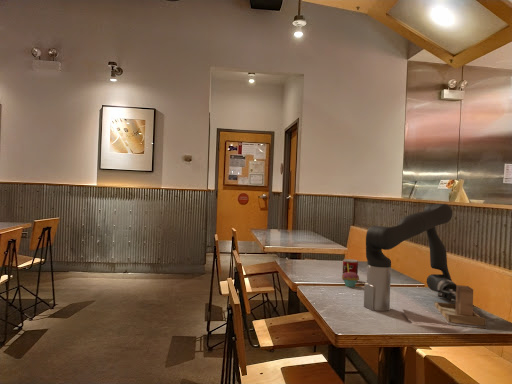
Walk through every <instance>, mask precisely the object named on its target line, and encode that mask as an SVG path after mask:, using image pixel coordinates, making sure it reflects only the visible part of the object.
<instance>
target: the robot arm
mask: <svg viewBox="0 0 512 384" xmlns="http://www.w3.org/2000/svg"><path fill="white" fill-rule="evenodd" d="M453 215H454V213H453V209H452V208H451V206H450V205H449V204H446V203H434V204H427V205H425V206H424V208H423V211H417V212H414V213H409V214H408V215H405V216H404V217H402V218H400V220H398V221H399V222H398V224H397V225H395V226H383V225H382V226H381V225H380V226H379V225H372V226H370V227H369V228H368V229H367V230H366V234H365V258H366V261H367V263H366V264H367V265H366V266H367V268H366V270H367V271H366V282H364V285H363V287H364V289H363V307H364V308H367V309H369V310H371V311H380V312H385V311H389V310H390V308H391V307H390V305H391V277H392V261H391V258H389V257H387V256H386V255H385V254H384V253H383V250H384V251H388V250H392V249H394V248H395V247H397V246H398V245H400V244H401V243H403V242H404V241H407V240H409V239H411V238H413V237H416V236H418V235H420V234H422V233H424V232H426V235H427V241H428V246H429V261H430V262H429V263H430V267H431V268H432V269H434V270H438V271H441V273H442V274H440V273H439V274H436V273H435V274H433V273H431V274H429V275H428V276H427V278H426V285H427V288H429V289H430V290H431V291H433V292H437V297H438V298H441V299H444V300H445V301H448V302H449V303H450V302H452V303H453V302H456V285H457V284H456V283H455V282H454V281H453V280H452V277H451V274H450V270H449V268H448V255H447V249H446V246H445V245H444V243H443V240H442V239H441V237H439V234H438V233H437V226H441V225H445V224H448V223H449V222H450V221H451V220H452V218H453Z"/></svg>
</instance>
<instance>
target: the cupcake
mask: <svg viewBox="0 0 512 384" xmlns="http://www.w3.org/2000/svg"><path fill="white" fill-rule="evenodd" d="M347 269H348V272H346V273H343V272H342V274H341V279H342V280H343V279H344V280H343V282H344V285H345V287H347V288H355V287H356V284H357V282H358V281H359V280H360V276H359V275H357V274H356V273H355V272H349V266H348V263H347Z"/></svg>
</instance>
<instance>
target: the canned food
mask: <svg viewBox="0 0 512 384" xmlns="http://www.w3.org/2000/svg"><path fill="white" fill-rule="evenodd" d="M347 263H348V266H349V272H355V273H356V274H357V275H358V273H359V260H357V259H349V258H347V259H343V260H342V274H343V273H346V272H348V269H347ZM358 276H359V275H358ZM342 281H344V279H342Z"/></svg>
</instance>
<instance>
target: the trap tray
mask: <svg viewBox="0 0 512 384" xmlns="http://www.w3.org/2000/svg"><path fill="white" fill-rule="evenodd" d="M434 307H435V308H436V310H438V311H439V313H440V314H441V315H442V316H443V317H444V318H445V319H446V321H447V322H449V323H457V324H466V325H457V324H449V323H448V324H447V325H448V326H455V327H461V328H462V327H464V328H473V329H474V328H475V329H479V330H481V329H482V330H486V329H487V328H486V325H487V318H486V317H481V316H480V315H479V314H478V313H477V312H475V310H473V316H463V315H455V311H456V303H450V302H448V303H447V302H440V301H438V302H436V301H435V302H434ZM469 325H475V326H469ZM476 326H477V327H476ZM478 326H483V327H478ZM484 326H485V327H484Z"/></svg>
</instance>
